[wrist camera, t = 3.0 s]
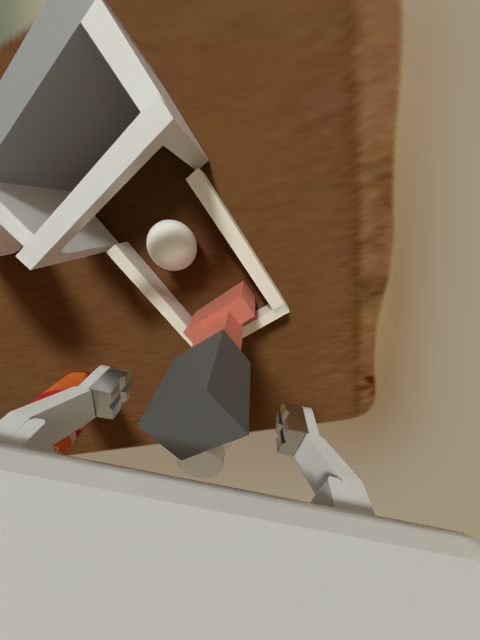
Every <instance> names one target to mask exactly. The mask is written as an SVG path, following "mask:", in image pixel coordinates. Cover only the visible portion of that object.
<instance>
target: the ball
mask: <svg viewBox="0 0 480 640" xmlns="http://www.w3.org/2000/svg"><path fill="white" fill-rule="evenodd" d="M146 245H147V250H148V253H149V255H150V257H151V259H152V260H153V261H154V262H155V263H156V264H157V265H158V266H160V267H161V268H163V269H166V270H170V271H178V270H182V269H185V268H186V267H188V266H189V265H190V264H191V263H192V262H193V261H194V259H195V257H196V253H197V242H196V239H195V236H194V234H193V233H192V231H191V230H190V229H189V228H188V227H187V226H186V225H184V224H183V223H181V222H179V221H176V220H163V221H160V222H158V223H156V224H155V225H154V226H153V227H152V228H151V229H150V231H149V233H148V235H147V240H146Z"/></svg>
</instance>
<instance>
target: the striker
mask: <svg viewBox="0 0 480 640" xmlns="http://www.w3.org/2000/svg"><path fill="white" fill-rule="evenodd" d="M254 316H255V296H254V294H253V293H252V291H251V290H250V289H249V287H248V286H247V284H246V283H245V281H244V280H243V281H242V282H240V283H239V284H237V285H236V286H234V287H233V288H231V289H230V290H228V291H227V292H225V293H223V294H222V295H220V296H219V297H217V298H216V299H214V300H213V301H211V302H210V303H208V304H207V305H205V306H204V307H202V308H201V309H199V310H197V311H196V312H195V314H194V316H193V317H192V319H191V320H190V322H189V324H188V325H187V327H186V329H185V330H184V332H183V333H184V334H185V335H186V337H187V338H188V339H189V340H190V341H191V342H192V343H193V345H192V347H191V348H190V349H188V350H187V351H185V352H183V353H182V354H180V355H178V356H177V357H175V358H174V360H173V362H172V364H171V365H170V367H169V369H168V371H167V373H166V374H165V376H164V378H163V380H162V382H161V383H160V385H159V387H158V389H157V390H156V392H155V394H154V396H153V398H152V399H151V401H150V403H149V405H148V407H147V408H146V410H145V412H144V414H143V416H142V417H141V419H140V421H139V423H138V424H137V426H139V427H140V428H141V429H142V430H144V431H145V432H146V433H147V434H149V435H150V436H151V437H152V438H154V439H155V440H156V441H157V442H159V443H160V444H161V445H162V446H164V447H165V448H166V449H167V450H169V451H170V452H171V453H173V454H174V455H175V456H176V457H177V458H179V459H180V460H181V461H182V460H184V459H187V458H189V457H192V456H195V455H197V454H200V453H202V452H205V451H208V450H210V449H213V448H215V447H218V446H221V445H223V444H226V443H228V442H231V441H234V440H236V439H239V438H241V437H244V436H247V435H249V408H250V371H251V363H250V361H249V360H248V359H247V358H246V356H245V355H244V354H243V353H242V351H241V347H242V337H243V327H244V322H246V321H247V320H249V319H251V318H253V317H254Z"/></svg>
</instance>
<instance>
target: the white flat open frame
mask: <svg viewBox="0 0 480 640" xmlns="http://www.w3.org/2000/svg"><path fill="white" fill-rule="evenodd" d="M186 181H187V182H188V184H189V185H190V187H191V188H192V190H193V191H194V193H195V194H196V195H197V197H198V198H199V200H200V201H201V203H202V204H203V206H204V207H205V209H206V210H207V212H208V213H209V215H210V216H211V218H212V219H213V221H214V222H215V224H216V225H217V227H218V228H219V230H220V231H221V233H222V234H223V236H224V237H225V239H226V240H227V242H228V243H229V245H230V246H231V248H232V249H233V251H234V252H235V254H236V255H237V257H238V258H239V260H240V261H241V263H242V264H243V266H244V267H245V269H246V270H247V272H248V273H249V275H250V276H251V278H252V279H253V281H254V282H255V284H256V285H257V287H258V288H259V290H260V291H261V293H262V294H263V296H264V297H265V299H266V300H267V302H268V303H269V304H267V305H266V306H264V307H262V308H261V309H259V310H257V311H255V316H254V317H253V318H251V319H249V320H247V321H246V322H244V327H243V337H242V338H244V337H246V336H247V335H249V334H251V333H253V332H255V331H256V330H258V329H260V328H262V327H264V326H265V325H267V324H269V323H271V322H273V321H274V320H276V319H278V318H280V317H281V316H283V315H285V314H287V313H289V312H290V311H289V308H288V305H287V303H286V301H285V300H284V298H283V297H282V295H281V293H280V292H279V290H278V289H277V287H276V286H275V284H274V282H273V281H272V279H271V278H270V276H269V274H268V273H267V271H266V270H265V268H264V267H263V265H262V263H261V262H260V260H259V259H258V257H257V255H256V254H255V252H254V251H253V249H252V248H251V246H250V244H249V243H248V241H247V240H246V238H245V236H244V235H243V233H242V232H241V230H240V229H239V227H238V225H237V224H236V222H235V221H234V219H233V217H232V216H231V214H230V213H229V211H228V210H227V208H226V206H225V205H224V203H223V202H222V200H221V198H220V197H219V195H218V194H217V192H216V191H215V189H214V187H213V186H212V184H211V183H210V181H209V179H208V178H207V176H206V175H205V173H204V172H203V171H202V170H200V169H199V168H197V169H196V170H195V171H194V172H193V173H192V174H191V175H190V176H188V177H187V178H186ZM106 253H107V254H108V255H109V257H110V258H111V259H112V260H113V261H114V262H115V263H116V264H117V265H118V266H119V268H120V269H121V270H122V271H123V272H124V273H125V274H126V275H127V276H128V277H129V279H130V280H131V281H132V282H133V283H134V284H135V285H136V286H137V287H138V288H139V290H140V291H141V292H142V293H143V294H144V295H145V296H146V297H147V298H148V299H149V301H150V302H151V303H152V304H153V305H154V306H155V307H156V308H157V309H158V311H159V312H160V313H161V314H162V315H163V316H164V317H165V318H166V319H167V320H168V322H169V323H170V324H171V325H172V326H173V327H174V328H175V329H176V330H177V331H178V333H179V334H180V335H181V336H182V337H183V338H184V339H185V340H186V341H187V342H188V344H189V345H190V346H191V347H192V345H193V343H192V342H191V341H190V340H189V339H188V338H187V337H186V335H185V334H184V333H183V332H184V330H185V329H186V327H187V325H188V324H189V322H190V320H191V319H192V317H191V315H190V314H189V313H188V312H187V311H186V310H185V308H184V307H183V306H182V305H181V304H180V303H179V301H178V300H177V299H176V298H175V297H174V295H173V294H172V293H171V292H170V291H169V290H168V288H167V287H166V286H165V285H164V284H163V283H162V281H161V280H160V279H159V278H158V277H157V275H156V274H155V273H154V272H153V271H152V270H151V268H150V267H149V266H148V265H147V264H146V263H145V261H144V260H143V259H142V258H141V257H140V255H139V254H138V253H137V252H136V251H135V250H134V248H133V247H132V246H131V245H130V244H129V243H128V242H123V243H119V244H115V245H114V246H112V247H111V248H110V249H109V250H108V251H107V252H106Z"/></svg>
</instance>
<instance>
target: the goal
mask: <svg viewBox="0 0 480 640" xmlns="http://www.w3.org/2000/svg"><path fill="white" fill-rule="evenodd" d="M162 146H165V147H166V148H167V149H169V150H170V151H171V152H172V153H174V154H175V155H176V156H178V157H179V158H180V159H182V160H183V161H184V162H186V163H187V164H188V165H190V166H191V167H192V168H194V169H195V170H196V169H197V168H199V169H200V168H201V167H202V166H203V165H204V164H206V163H207V162H208V161H209V160H208V158H207V157H206V155H205V153H204V152H203V150H202V148H201V147H200V145H199V143H198V142H197V140H196V139H195V137H194V135H193V134H192V132H191V130H190V129H189V127H188V125H187V124H186V122H185V121H184V119H183V117H182V116H181V114H180V112H179V111H178V109H177V107H176V106H175V104H174V103H173V101H172V99H171V98H170V96H169V94H168V93H167V91H166V89H165V88H164V86H163V85H162V83H161V81H160V80H159V78H158V76H157V75H156V73H155V72H154V70H153V68H152V67H151V65H150V64H149V63H148V61H147V60H146V58H145V57H144V55H143V54H142V53H141V51H140V50H139V48H138V47H137V45H136V44H135V42H134V41H133V40H132V38H131V37H130V35H129V34H128V32H127V31H126V30H125V28H124V27H123V25H122V24H121V22H120V21H119V20H118V18H117V17H116V15H115V14H114V12H113V11H112V10H111V8H110V7H109V5H108V4H107V2H106V1H105V0H47V1H46V3H45V5H44V6H43V8H42V10H41V12H40V13H39V15H38V17H37V18H36V20H35V22H34V24H33V25H32V27H31V29H30V30H29V32H28V34H27V36H26V37H25V39H24V41H23V42H22V44H21V46H20V48H19V49H18V51H17V53H16V54H15V56H14V58H13V60H12V61H11V63H10V65H9V67H8V68H7V70H6V72H5V73H4V75H3V77H2V79H1V80H0V224H1V225H2V226H3V227H4V228H5V229H6V230H7V231H8V232H9V233H10V234H11V235H12V236H13V237H14V238H15V239H17V240H18V241H19V242H20V243H21V244H22V245H23V246H24V247H23V248H22V249H21V250H20V251H19V253H18V254H17V255H16V256H15V257H17V258H18V259H19V260H20V261H21V262H22V263H23V264H24V265H25V266H26V267H27V268H28V269H30V270H34V269H38V268H42V267H46V266H50V265H54V264H58V263H62V262H66V261H70V260H74V259H78V258H82V257H86V256H90V255H94V254H98V253H102V252H106V251H108V250H109V249H110V248H111V247H112V246H114V245H115V244H118V241H117V240H116V239H115V238H114V237H113V236H112V235H111V233H110V232H109V231H108V230H107V229H106V228H105V226H104V225H103V224H102V223H101V222H100V221H99V220H98V218H97V217H96V216H95V215H96V214H97V213H98V212H99V211H100V209H101V208H102V207H103V206H104V205H105V204H106V203H107V202H108V201H109V200H110V199H111V198H112V197H113V196H114V195H115V194H116V193H117V192H118V191H119V190H120V189H121V188H122V187H123V186H124V185H125V184H126V183H127V182H128V181H129V180H130V179H131V178H132V177H133V175H134V174H135V173H136V172H137V171H138V170H139V169H140V168H141V167H142V166H143V165H144V164H145V163H146V162H147V161H148V160H149V159H150V158H151V157H152V156H153V155H154V154H155V153H156V152H157V151H158V150H159V149H160V148H161V147H162Z"/></svg>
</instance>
